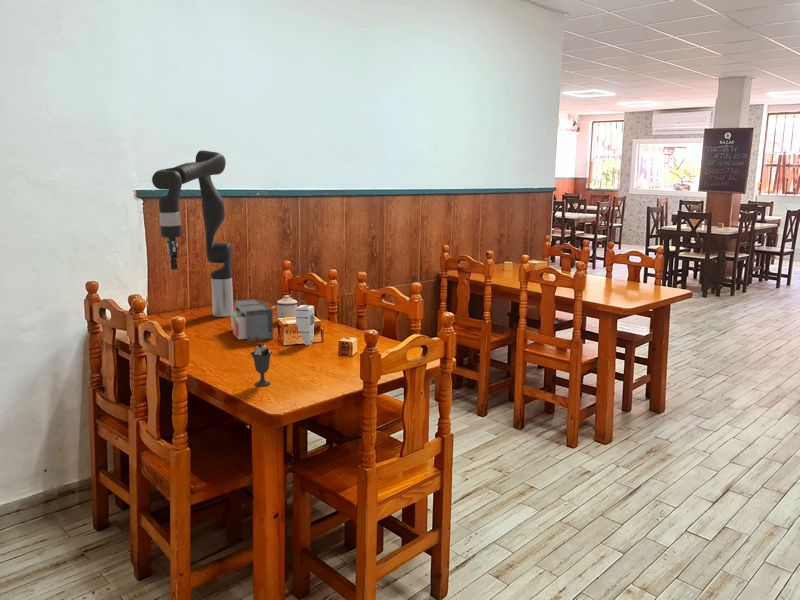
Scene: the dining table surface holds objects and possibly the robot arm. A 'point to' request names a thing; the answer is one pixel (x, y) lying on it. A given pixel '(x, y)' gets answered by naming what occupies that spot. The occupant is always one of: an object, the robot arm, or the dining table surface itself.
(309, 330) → the syrup box
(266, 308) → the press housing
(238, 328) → the white cube pink side
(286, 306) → the teacup with lid
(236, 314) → the pale greenish white box
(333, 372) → the dining table surface
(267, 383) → the sundae
